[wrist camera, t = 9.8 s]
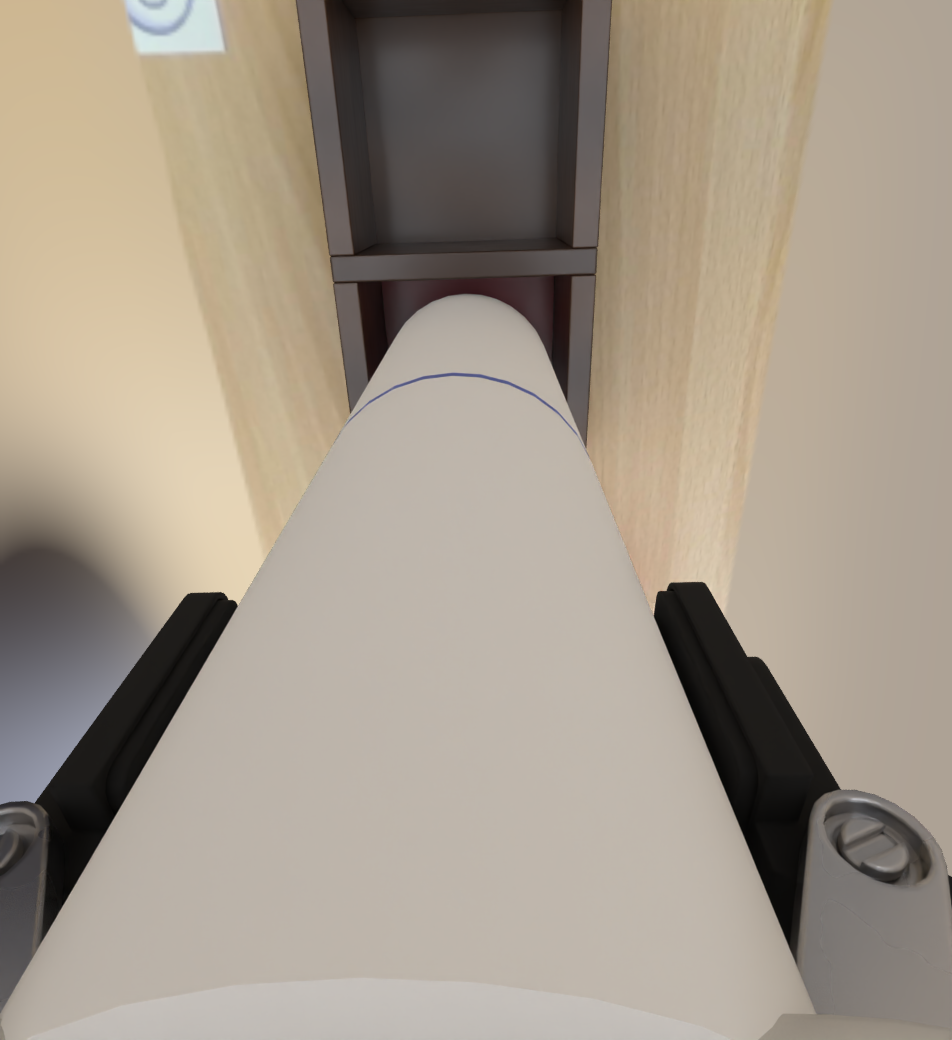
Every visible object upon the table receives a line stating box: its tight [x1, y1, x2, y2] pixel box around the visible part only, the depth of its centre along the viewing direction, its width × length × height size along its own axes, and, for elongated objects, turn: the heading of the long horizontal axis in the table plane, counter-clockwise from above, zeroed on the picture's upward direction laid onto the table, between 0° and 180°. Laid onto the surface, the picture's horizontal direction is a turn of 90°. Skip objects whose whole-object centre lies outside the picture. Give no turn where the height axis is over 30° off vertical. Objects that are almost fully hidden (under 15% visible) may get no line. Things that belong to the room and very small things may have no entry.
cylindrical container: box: [0, 294, 816, 1040], centre depth 16 cm, size 7×7×25 cm
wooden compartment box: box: [296, 0, 612, 448], centre depth 27 cm, size 20×10×7 cm, turn 2°
